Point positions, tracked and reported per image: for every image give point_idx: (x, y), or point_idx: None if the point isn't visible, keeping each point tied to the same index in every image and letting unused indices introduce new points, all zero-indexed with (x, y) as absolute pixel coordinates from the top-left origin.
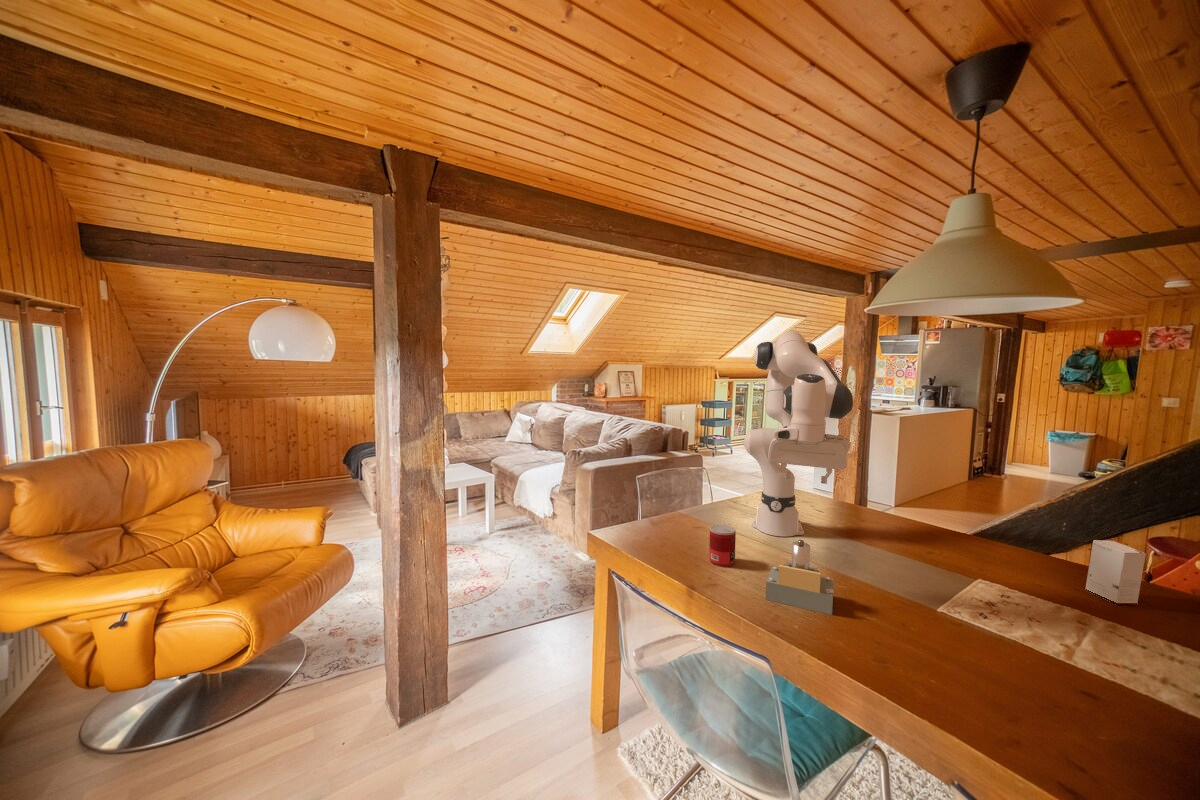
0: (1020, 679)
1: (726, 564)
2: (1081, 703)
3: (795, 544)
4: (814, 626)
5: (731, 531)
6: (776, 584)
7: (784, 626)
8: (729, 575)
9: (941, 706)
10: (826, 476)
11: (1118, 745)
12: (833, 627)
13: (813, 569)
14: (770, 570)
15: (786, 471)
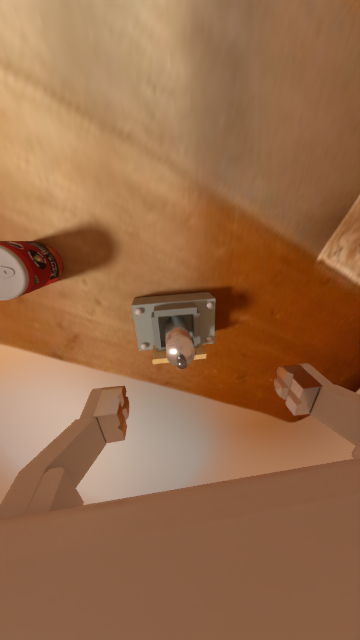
0: (330, 347)
1: (56, 280)
2: (353, 354)
3: (172, 358)
4: (194, 360)
5: (17, 274)
6: (151, 349)
7: (170, 373)
8: (77, 303)
9: (267, 399)
10: (325, 420)
11: (345, 381)
12: (209, 352)
13: (192, 313)
14: (133, 317)
15: (95, 450)
